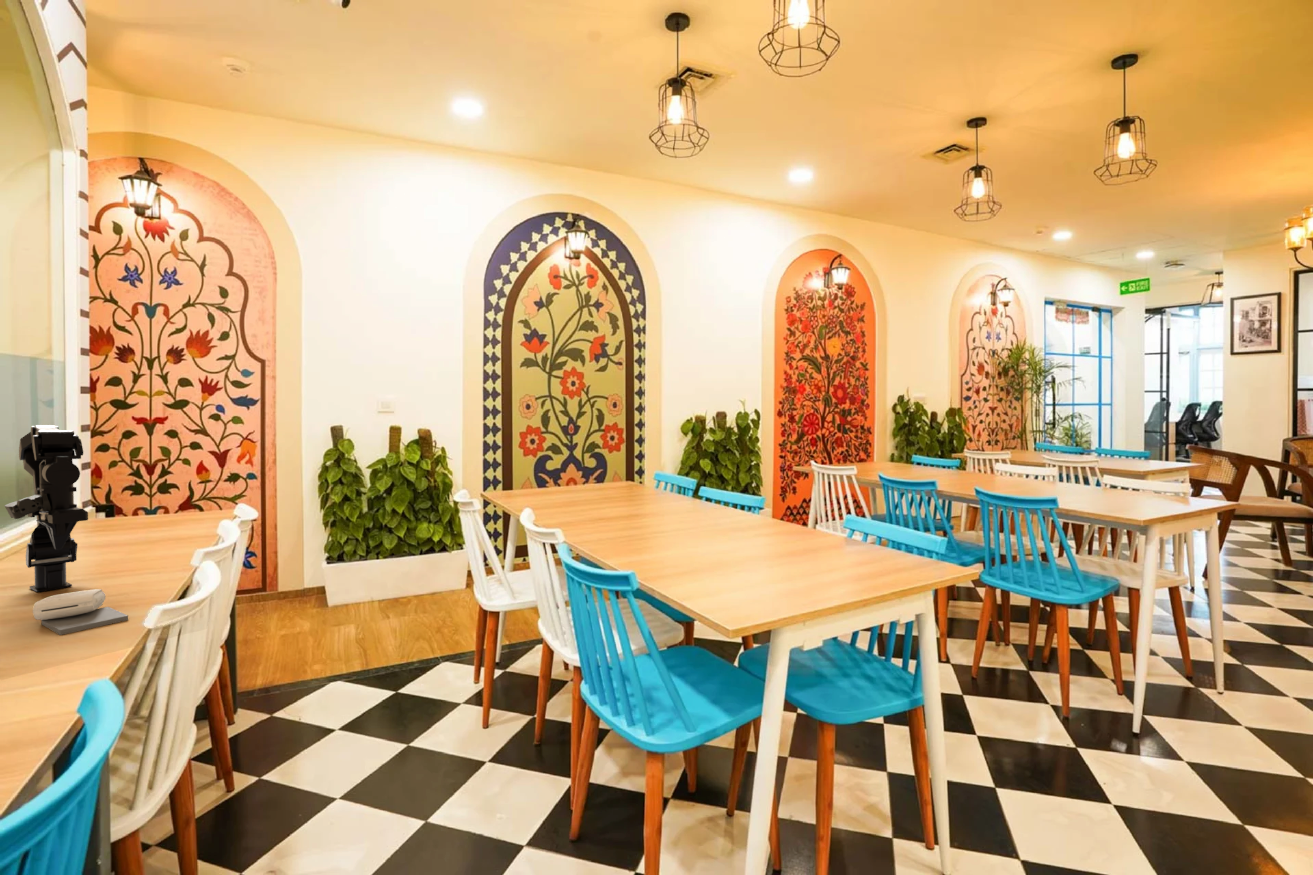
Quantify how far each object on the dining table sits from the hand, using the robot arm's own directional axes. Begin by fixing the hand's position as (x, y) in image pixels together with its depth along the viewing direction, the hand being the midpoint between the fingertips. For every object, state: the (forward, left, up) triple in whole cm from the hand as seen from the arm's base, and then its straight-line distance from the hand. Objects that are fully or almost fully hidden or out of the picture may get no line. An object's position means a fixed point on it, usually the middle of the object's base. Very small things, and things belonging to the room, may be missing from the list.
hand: (58, 548), depth 148 cm
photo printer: (+13, -1, -10) cm, 17 cm away
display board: (+25, -3, -12) cm, 28 cm away
